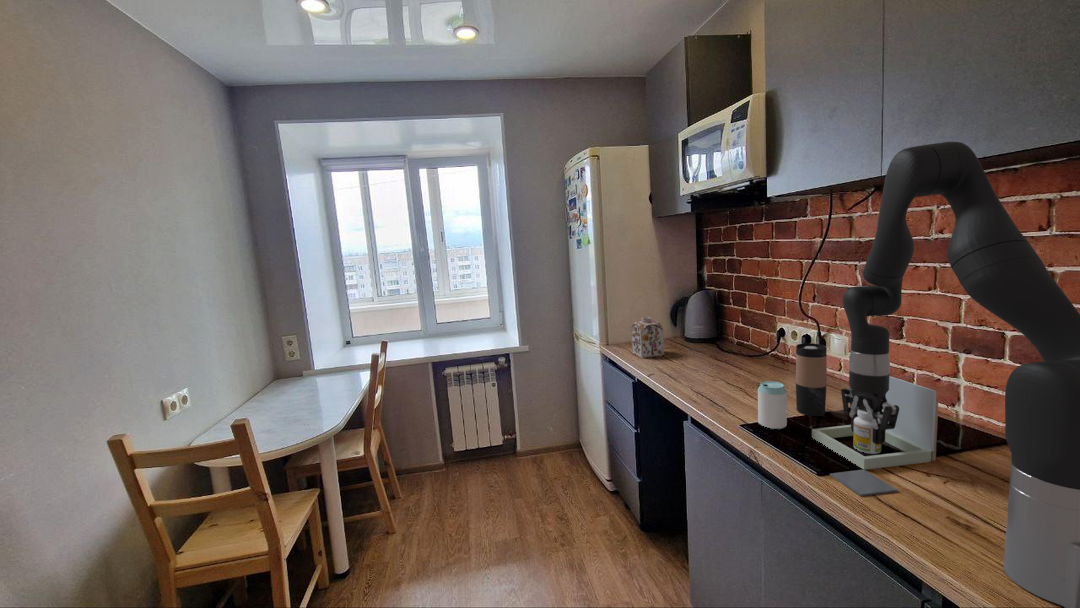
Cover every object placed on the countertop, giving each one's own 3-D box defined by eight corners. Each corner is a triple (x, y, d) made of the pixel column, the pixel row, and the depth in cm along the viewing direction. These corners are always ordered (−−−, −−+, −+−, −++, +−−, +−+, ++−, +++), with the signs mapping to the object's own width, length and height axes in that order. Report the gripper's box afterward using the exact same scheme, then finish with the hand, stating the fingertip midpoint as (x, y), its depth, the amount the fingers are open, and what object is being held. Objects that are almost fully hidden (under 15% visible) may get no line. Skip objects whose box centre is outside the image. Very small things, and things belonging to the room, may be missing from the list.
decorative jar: (631, 353, 208) (630, 317, 205) (653, 350, 210) (652, 314, 207) (641, 358, 196) (640, 320, 194) (665, 355, 198) (663, 318, 196)
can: (775, 432, 113) (775, 390, 112) (752, 424, 120) (752, 383, 118) (792, 426, 116) (792, 384, 115) (769, 418, 123) (768, 378, 121)
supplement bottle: (874, 444, 104) (875, 407, 102) (885, 455, 98) (887, 415, 97) (849, 443, 105) (850, 406, 104) (859, 453, 100) (860, 414, 99)
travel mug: (828, 409, 125) (828, 344, 123) (823, 418, 120) (824, 350, 117) (798, 405, 131) (798, 342, 128) (793, 413, 125) (793, 347, 122)
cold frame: (936, 461, 94) (939, 390, 92) (864, 469, 93) (865, 398, 91) (874, 431, 110) (876, 370, 108) (811, 438, 109) (812, 376, 107)
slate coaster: (897, 491, 85) (897, 489, 85) (860, 496, 84) (860, 494, 84) (863, 471, 93) (863, 469, 93) (829, 475, 92) (829, 473, 92)
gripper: (913, 377, 92) (910, 449, 95) (858, 360, 107) (857, 424, 109) (881, 380, 92) (879, 453, 94) (830, 363, 106) (829, 427, 108)
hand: (867, 437), depth 101 cm, fingers closed on supplement bottle, 5 cm apart
